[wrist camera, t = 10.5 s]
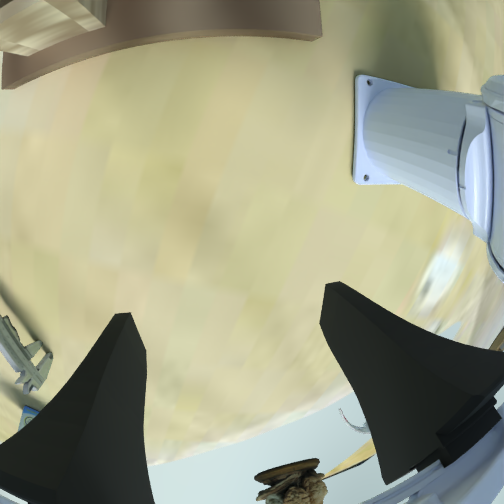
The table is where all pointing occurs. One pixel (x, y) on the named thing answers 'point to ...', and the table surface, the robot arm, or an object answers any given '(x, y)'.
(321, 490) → the owl figurine
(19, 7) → the hollow square tube
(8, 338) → the caliper
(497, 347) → the lamp
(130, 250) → the table surface
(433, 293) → the table surface
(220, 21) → the brown board with peg
